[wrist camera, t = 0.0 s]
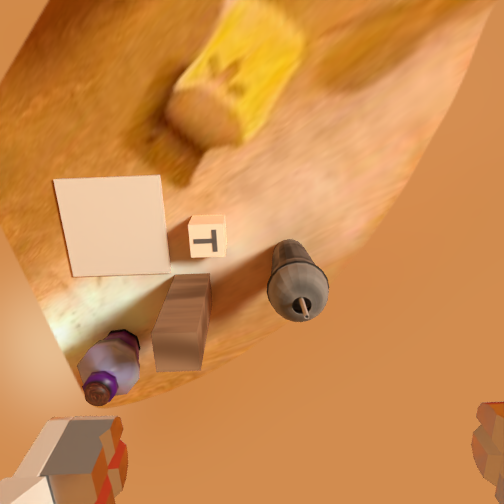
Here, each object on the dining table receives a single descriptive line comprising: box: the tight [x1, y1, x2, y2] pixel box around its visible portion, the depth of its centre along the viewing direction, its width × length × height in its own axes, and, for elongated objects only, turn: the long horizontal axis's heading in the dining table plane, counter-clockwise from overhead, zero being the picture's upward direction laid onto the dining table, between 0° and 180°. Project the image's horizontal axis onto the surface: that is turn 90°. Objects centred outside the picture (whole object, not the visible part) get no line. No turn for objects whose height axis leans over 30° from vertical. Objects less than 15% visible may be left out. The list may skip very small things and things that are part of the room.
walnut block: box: [151, 273, 212, 372], centre depth 54 cm, size 5×5×16 cm
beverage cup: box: [267, 239, 329, 322], centre depth 50 cm, size 7×7×20 cm
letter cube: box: [188, 214, 227, 258], centre depth 56 cm, size 4×4×5 cm
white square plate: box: [53, 175, 171, 277], centre depth 58 cm, size 14×14×1 cm
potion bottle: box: [77, 329, 140, 406], centre depth 59 cm, size 9×9×12 cm
